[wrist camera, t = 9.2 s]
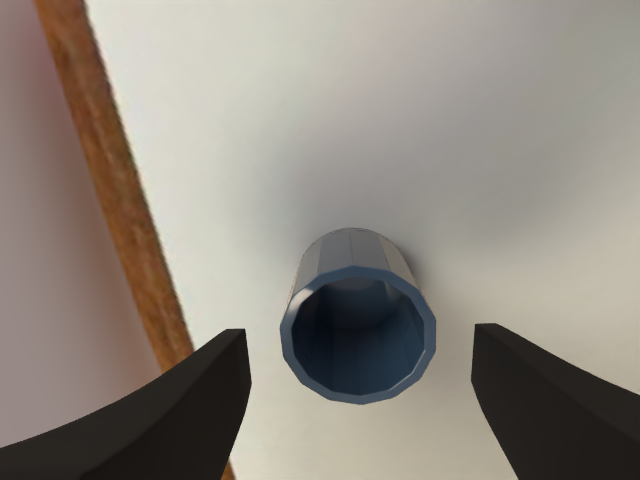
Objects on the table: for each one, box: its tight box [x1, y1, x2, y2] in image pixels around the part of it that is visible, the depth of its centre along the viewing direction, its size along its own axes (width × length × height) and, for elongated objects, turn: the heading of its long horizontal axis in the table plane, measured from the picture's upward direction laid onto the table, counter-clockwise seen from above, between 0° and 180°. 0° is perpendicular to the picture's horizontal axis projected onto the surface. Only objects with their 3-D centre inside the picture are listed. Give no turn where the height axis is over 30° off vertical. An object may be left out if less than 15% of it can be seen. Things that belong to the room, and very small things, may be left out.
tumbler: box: [280, 228, 436, 405], centre depth 15 cm, size 5×5×5 cm
